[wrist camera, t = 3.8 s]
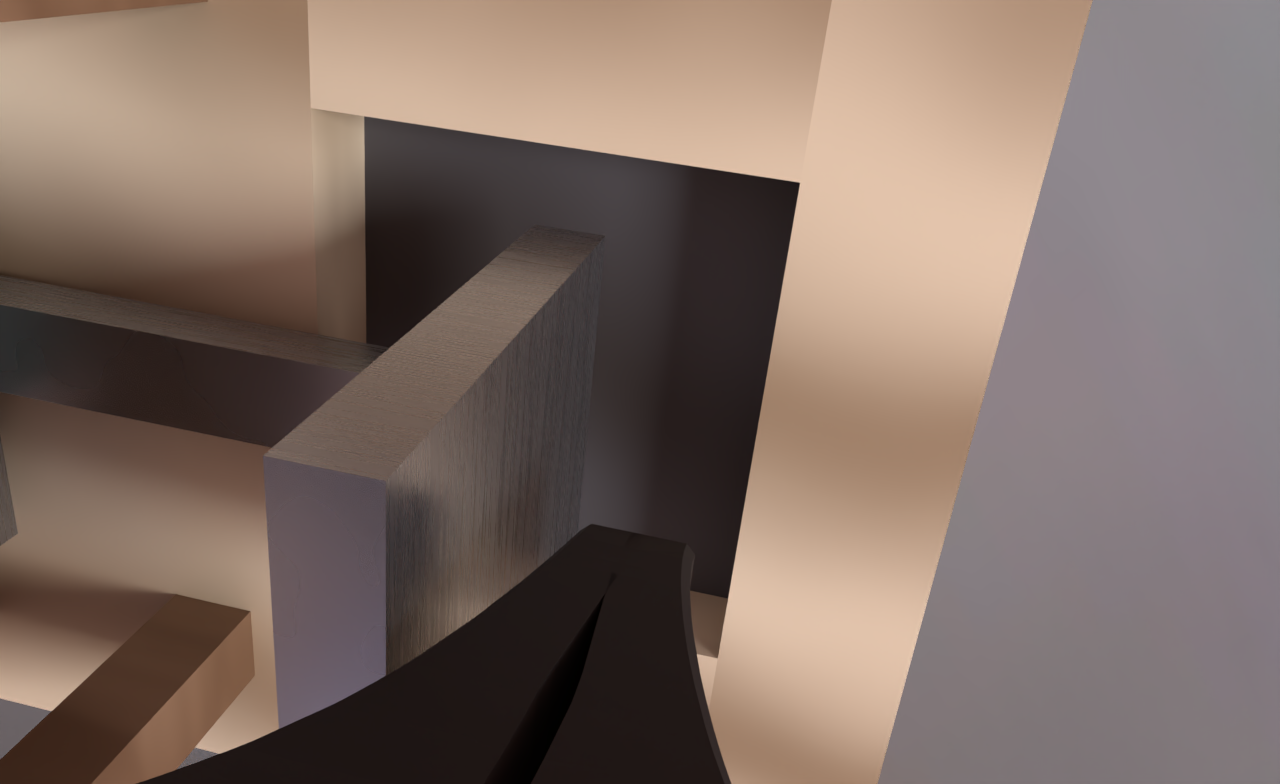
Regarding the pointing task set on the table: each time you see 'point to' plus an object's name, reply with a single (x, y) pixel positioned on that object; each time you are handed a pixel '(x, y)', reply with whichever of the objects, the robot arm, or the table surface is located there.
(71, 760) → the tunnel
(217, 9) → the deck
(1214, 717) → the table surface
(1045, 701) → the table surface
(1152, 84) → the table surface
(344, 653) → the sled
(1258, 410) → the table surface
